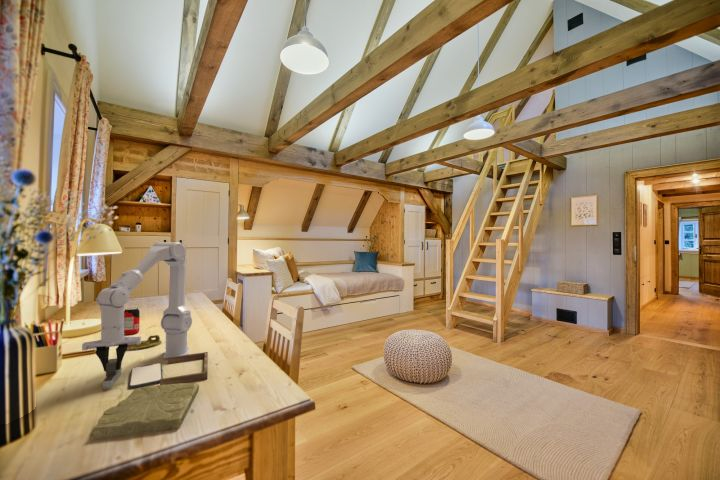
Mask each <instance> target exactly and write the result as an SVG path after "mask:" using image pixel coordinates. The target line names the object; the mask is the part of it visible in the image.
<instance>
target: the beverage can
mask: <svg viewBox="0 0 720 480" xmlns="http://www.w3.org/2000/svg"><path fill="white" fill-rule="evenodd" d="M140 315H141V314H140V310H139V307H136V306H135V307H126V308H124V336H125V335H126V336H131V335H136V334H138V333H139V332H140V324H141V323H140V321H141V320H140Z"/></svg>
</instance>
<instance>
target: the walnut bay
mask: <svg viewBox="0 0 720 480" xmlns="http://www.w3.org/2000/svg"><path fill="white" fill-rule="evenodd" d="M208 354H209V352H208V351H204V352H197V353H191V354H190V353H188V355H181V356H173V357H168V358H167V364H168V365H169V364H175V363H182V362H190V361H196V360H202V359H203V360H204V365H203V367H204V368H203V371H202V372H196V373H189V374H183V375H182V374H181V375H177V376H172V377H171V376H170V377H163V379H160V383H159V385H167V384H178V383H193V382H196V381H197V382H198V381H203V380H208V369H209V368H208V364H209V361H208V360H209V359H208V358H209V357H208V356H209V355H208Z"/></svg>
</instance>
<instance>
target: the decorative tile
mask: <svg viewBox="0 0 720 480" xmlns="http://www.w3.org/2000/svg"><path fill="white" fill-rule="evenodd" d="M199 390H200V384H199V383H197V382H186V383H178V384H167V385H160V384H157V385H150V386H145V387H140V388H135V389H132V392H131V393H130V394H129V395H127V396H126V398H125V399H123V400H121V401H119V402H118V403H117V404H116V405H115V406H111V407H109V408H108V409H106V410H104V411H103V414H102V415H101V416H100V418H98V420H97V423H96V425H95V426H93V428H92V433H91V439H90V441H95V440H96V441H97V440H102V439H113V438H119V437H128V436H134V435H142V434H150V433H157V432H164V431H172V430H178V429H180V428H181V426H182V424H183V423H184V420H185V418H186V416H187V415H188V413H189V411H190V409H191V406H192V405H193V402H194V401H195V399H196V396H197V394H198V393H199Z"/></svg>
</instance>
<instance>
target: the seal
mask: <svg viewBox="0 0 720 480" xmlns="http://www.w3.org/2000/svg"><path fill="white" fill-rule="evenodd" d="M153 338H155V339H153ZM160 339H161V337H160V335H159V334H155V335H150V336H148V338H147V339H146V340H141V343H140V344H130V345H129V346H128V348H127V350H126V352H132V351H142V350H146V349H147V350H148V349H152V348H155V347H157V346H160V345H162V340H160Z"/></svg>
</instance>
